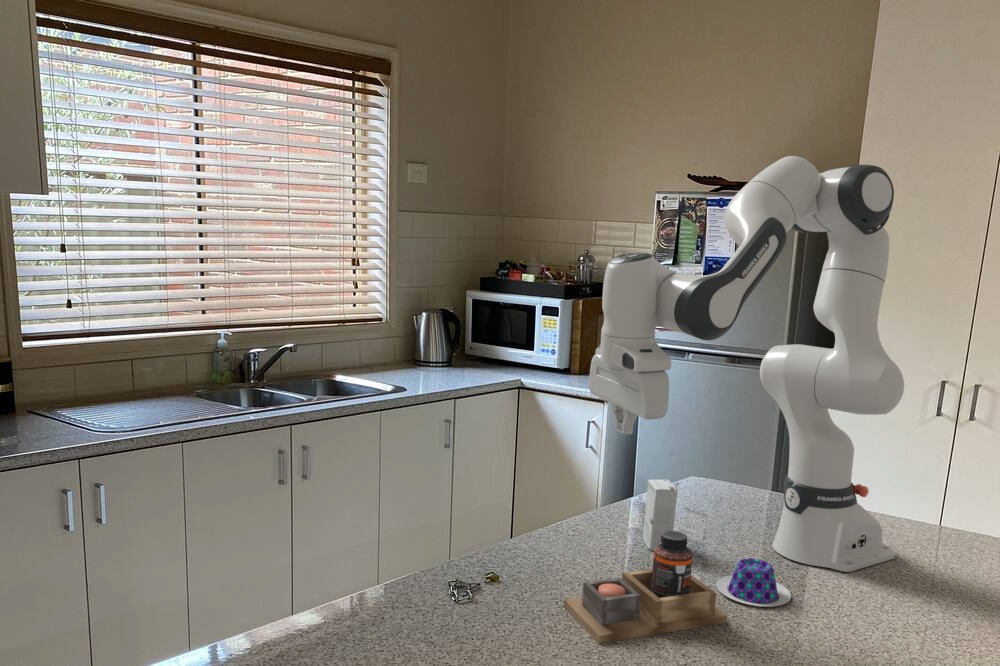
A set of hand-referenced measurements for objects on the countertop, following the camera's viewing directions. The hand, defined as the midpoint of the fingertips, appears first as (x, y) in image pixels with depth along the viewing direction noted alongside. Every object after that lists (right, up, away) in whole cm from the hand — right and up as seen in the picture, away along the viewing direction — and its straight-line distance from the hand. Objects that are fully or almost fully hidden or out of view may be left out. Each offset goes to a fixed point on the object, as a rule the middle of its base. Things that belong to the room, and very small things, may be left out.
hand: (623, 432), depth 139 cm
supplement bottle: (+6, -26, -9) cm, 28 cm away
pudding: (+22, -27, -1) cm, 35 cm away
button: (-4, -26, -13) cm, 29 cm away
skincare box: (+9, -24, +18) cm, 31 cm away
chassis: (+2, -27, -10) cm, 29 cm away
